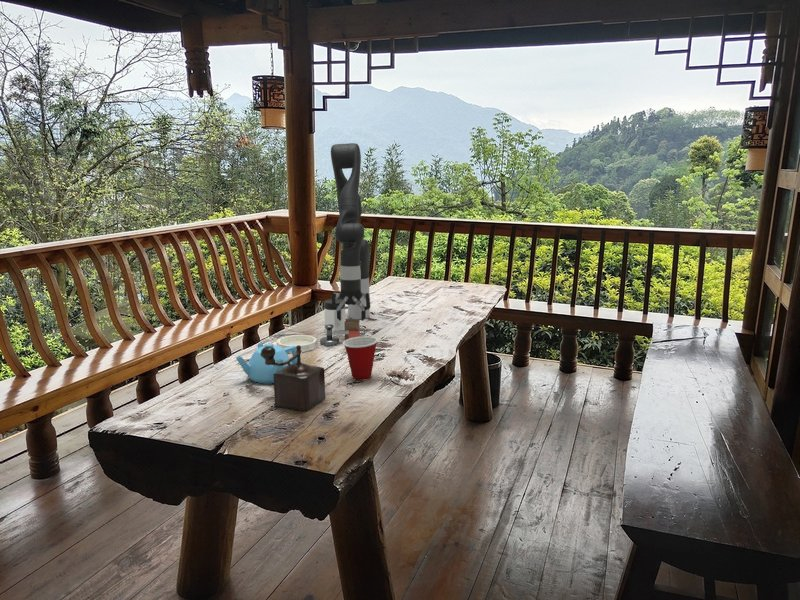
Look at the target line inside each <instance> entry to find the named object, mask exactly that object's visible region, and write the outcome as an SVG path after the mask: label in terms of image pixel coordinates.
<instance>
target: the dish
mask: <svg viewBox="0 0 800 600" xmlns="http://www.w3.org/2000/svg"><path fill="white" fill-rule="evenodd" d="M293 345H295V346H297V345H300V346H301V349H300V350H301V352H304V351H309V350H312V349H314V350H316V349H317V348H316V347H318V338H317V337H315V336H313V335H307V334H292V335H286V336H282V337H280V338H278V339H277V340H276V346H279V347H282V348H283V349H284V348H287V347H290V346H293ZM315 348H316V349H315ZM312 351H313V350H312ZM309 352H310V351H309ZM304 353H305V352H304ZM288 354H292V351H291V352H289V353H288Z"/></svg>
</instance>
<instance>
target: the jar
mask: <svg viewBox="0 0 800 600" xmlns="http://www.w3.org/2000/svg"><path fill="white" fill-rule="evenodd" d="M341 302H342V299H341V298H339V299H338V298H337V299H336V306H339V305H340V303H341ZM323 306H324V307H323V308H324V309H323V311H324V312H323V313H324V326H325V325H328V324H331V325H334V328H332V334H333V330H345V324H344V322H345V321H346V304H345V303H344V305H343V306H342V307H341V321H339V319H337V311H336V310H335V309H332V298H331V299H326V300H324V301H323ZM324 333H326V334H327V329H326V328H325V327H324Z"/></svg>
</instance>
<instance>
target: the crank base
mask: <svg viewBox="0 0 800 600" xmlns="http://www.w3.org/2000/svg"><path fill="white" fill-rule="evenodd" d="M325 328H326V329H327V333H326V337H321V338H320V339H319V344H321V346H322V345H324V346H323V347H334V346H333V345H335V346H338V345H339V344H340V338H339V337H336V336H333V333H332V328H334V325H331V324H328V325H325V324H324V329H325ZM337 344H338V345H337Z"/></svg>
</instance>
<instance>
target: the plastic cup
mask: <svg viewBox="0 0 800 600" xmlns="http://www.w3.org/2000/svg"><path fill="white" fill-rule="evenodd" d="M378 341H379V338H377V337H375V336H368V335H367V336H366V335H365V336H360V337H354V338H350V339H347V340H345V339H344V341H342V346H343V347H344V349H345V351H346V354H347V359H348V364H349V365H348V366H349V368H350V372H351V373H350V374H351V377H352V379H354V380H356V381H367V380H369V379H371V378H372V373H373V367H374V363H375V362H374V361H375V353H376V349H377V344H378Z"/></svg>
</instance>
